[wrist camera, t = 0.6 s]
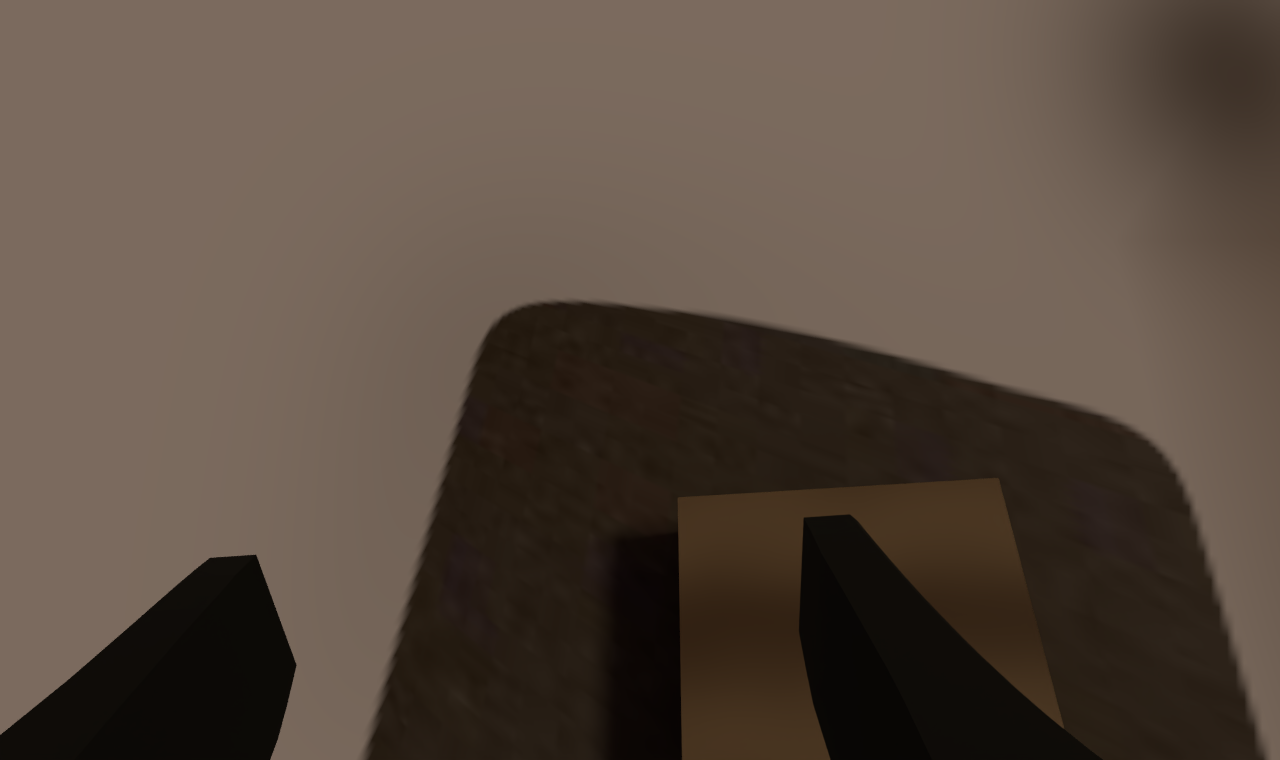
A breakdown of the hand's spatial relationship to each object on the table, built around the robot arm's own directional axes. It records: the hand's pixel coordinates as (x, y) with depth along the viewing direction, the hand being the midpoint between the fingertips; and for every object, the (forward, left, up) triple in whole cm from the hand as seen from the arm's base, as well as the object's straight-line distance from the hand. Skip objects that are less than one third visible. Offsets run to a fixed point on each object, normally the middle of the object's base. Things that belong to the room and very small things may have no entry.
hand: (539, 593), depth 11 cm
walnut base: (+4, -5, -17) cm, 18 cm away
